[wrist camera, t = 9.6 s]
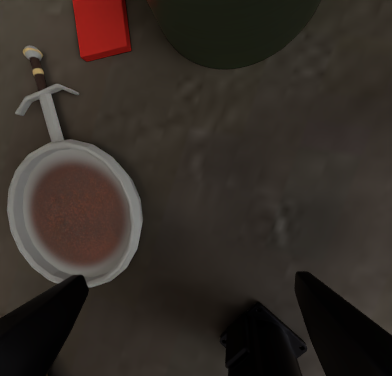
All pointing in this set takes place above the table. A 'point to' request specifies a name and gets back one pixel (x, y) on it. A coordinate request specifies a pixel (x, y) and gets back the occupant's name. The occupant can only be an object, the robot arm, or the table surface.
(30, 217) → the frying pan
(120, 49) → the spatula
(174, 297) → the table surface
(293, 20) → the cooking pot
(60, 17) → the table surface
